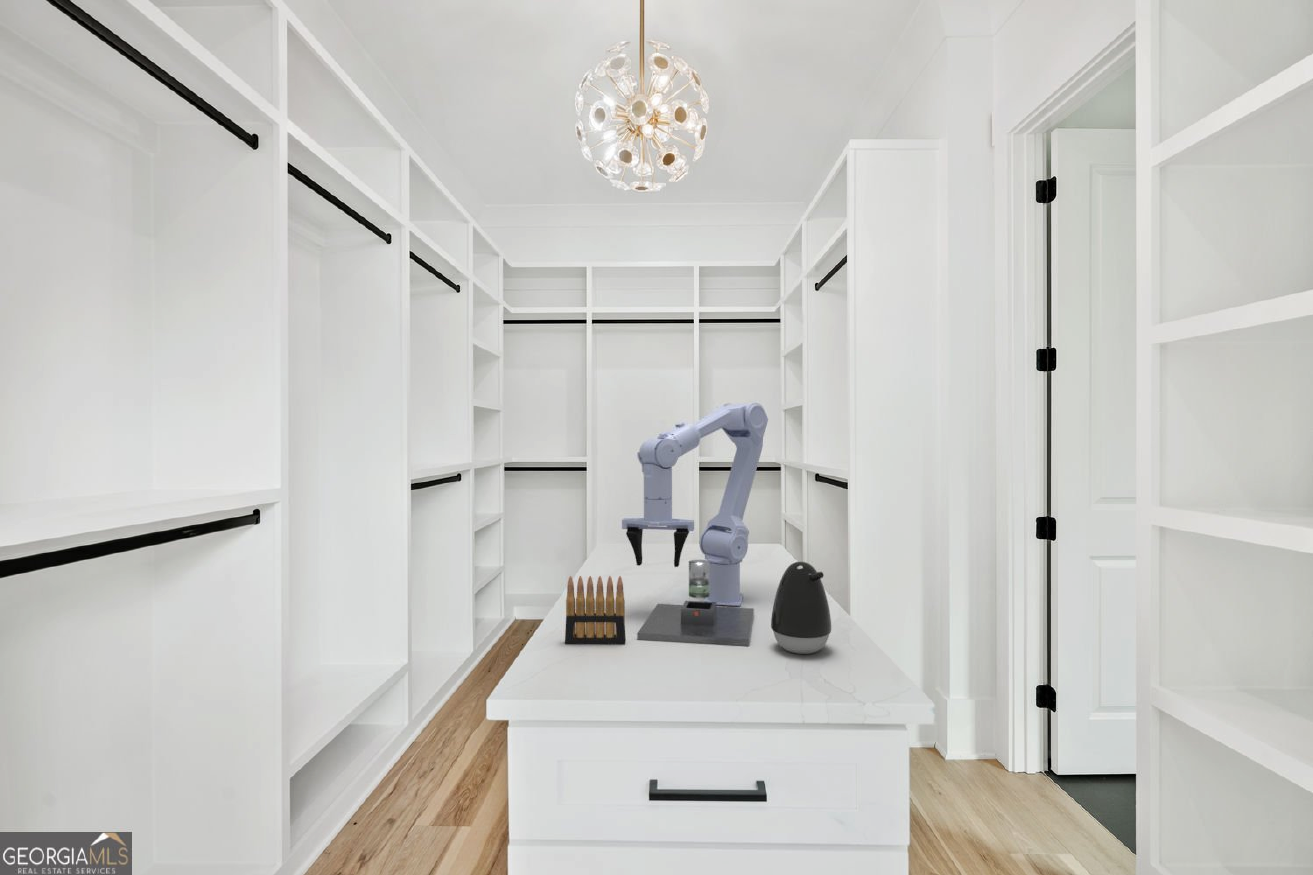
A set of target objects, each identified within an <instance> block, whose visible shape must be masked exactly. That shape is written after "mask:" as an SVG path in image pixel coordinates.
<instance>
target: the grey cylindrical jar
mask: <svg viewBox="0 0 1313 875" xmlns="http://www.w3.org/2000/svg"><path fill="white" fill-rule="evenodd" d="M688 596H689V597H690V598H694V599H705V598H706V597H709V596H710V562H709V561H707V560H706V559H691V560H689V561H688Z"/></svg>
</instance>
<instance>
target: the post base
mask: <svg viewBox="0 0 1313 875" xmlns="http://www.w3.org/2000/svg"><path fill="white" fill-rule="evenodd" d="M754 615H755V608H754V607H753V608H751V607H750V608H749V607H735V606H734V607H733V606H732V607H728V606H718V605H717V602H705V601H704V600H703V601H702V600H685V601H684V602H683V604H670V603H657V604H656V605H655V607H654V608H653V610H652V611H651V613H650V614H649V616H648V617H647V618H646V620H645V621H644V623H643V624H642V626H641V627H640V628H639V630H638V632H637V634H636V635H637V640H639V641H640V640H641V641H654V642H655V641H656V642H658V641H659V642H673V643H674V642H676V643H691V644H706V645H707V644H709V645H723V646H740V647H750V642H751V641H750V640H751V635H752V634H751V633H752V629H753V623H754Z"/></svg>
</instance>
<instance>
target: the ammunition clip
mask: <svg viewBox="0 0 1313 875" xmlns="http://www.w3.org/2000/svg"><path fill="white" fill-rule="evenodd" d="M566 588H567V589H566V590H567V591H566V600H565V630H564V631H565V633H564V635H565V637H564V644H565V645H583V646H585V645H587V646H589V645H593V646H594V645H598V646H599V645H601V646H602V645H605V646H606V645H607V646H608V645H611V646H612V645H619V646H620V645H621V646H623V645H626V641H627V640H626V618H625V617H626V613H625V612H626V611H625V610H626V609H625V606H626V604H625V601H626V600H625V596H624V582H623V578H622V576H621V575H619V576H618V579H617V582H616V593H614V583H613V579H612V576H611V575H609V576H608V579H607V582H606V593H605V594H606V595H604V583H603V579H602V577H601V575H599V576H598V578H597V582H596V596H595V593H594V592H595V591H594V582H593V577H592V576H591V575H589V577H588V579H587V584H586V598H585V592H584V591H585V586H584V581H583V577H582V575H579V577H578V580H577V587H576V589H577V590H576V597H575V584H574V580H573V577H572V576H571V575H570V576H569V578H568V581H567V587H566ZM614 594H616V595H614ZM604 596H606V597H604ZM615 596H616V597H615Z"/></svg>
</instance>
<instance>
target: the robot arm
mask: <svg viewBox="0 0 1313 875" xmlns="http://www.w3.org/2000/svg"><path fill="white" fill-rule="evenodd" d="M768 422H769V418H768V416H767V413H766V410H765V408H764V406H763V405H762V404H760V403H759V402H751V403H724V404H723V405H720V406H718V407H716V408H715V410H713V411H711V412H710V413H708V414H707V415H706V416H704V417H702V418H700V419H699V420H697V421H696V422H694V423H692V424H691V423H689V422H683V421H682V422H681V421H680V422H677V423H676V424H675V425H674V426H675V427H674V428H671V429H670V430H668V431H665V432H663V431H662V432H660V433H659V434H658V437H656V438H648V439H645V440H644V441H643V443H642V444H641V445H640V447H639V451H637V456H636V457H637V459H638V462H639V464H641V472H642V473H643V517H641V518H640V517H638V518H637V517H636V518H633V517H632V518H631V517H630V518H623V519H621V529H622V530H626V533H625V535H626V537H627V539H628V541H629V543H630V545H631V548H632V550H633V554H634V557H635V561H636V566H641V565H642V564H643V549H642V548H643V547H642V546H643V534H644V532H643V531H644V530H665V531H666V530H667V531H668V530H669V531H674V532H673V538H674V539H673V540H674V541H673V542H674V559H673V565H674V568H679V566H680V560H681V555H682V551H683V549H684V545H685V542H686V541H687V538H688V535H689V534H690V532H693V531H694V530H695V520H694V519H680V518H673V467H674V466H675V465H676V463H677V461H678V460H679V458H680V457H682V456H683V455H685V454H687V453H689V452H692V451H693V450H694V449H696V448H697V447H698V446H699V445H700V442H701V439H702V438H704V437H705V438H706V436H708V435H711V434H713V433H716V432H717V431H719V430H722V431H723V432H724V433H725V434H726V436H727V437H728V439H729V440H730V441H731V442H732V443H734V445H735V448H736V450H735V455H734V457H733V460H732V465H731V468H730V471H729V474H728V479H727V482H726V486H725V489H724V492H723V496H722V500H721V503H720V507H719V510H718V513H717V514H716V515H715V516H713V517H712V518H711V519H709V520H708V521H707V525H706V527H705V529H704V531H703V532H702V533H701V535H700V538H699V542H698V543H699V549H700V551H701V553H702V554H703V555H704V560H707V561H709V562H710V596H709V597H706V598H704V600H703V601H705V602H717V606H732V607H733V606H734V607H735V606H737V607H741V605H742V601H743V597H744V593H742V592H741V563H742V562H743V560H744V558H746V555H747V553H748V548H749V543H748V541H749V540H748V538H749V534H750V530H749V529H748V528H747V526H746V524H745V523H744V522H743V519H744V515H745V513H746V512H745V511H746V509H747V504H748V502H749V498H750V494H751V491H752V486H753V484H754V479H755V476H756V472H757V468H758V464H759V461H760V459H761V458H760V457H761V454H762V451H763V447H764V446H763V445H764V444H763V443H764V437H765V436H764V435H765V432H766V428H767V425H768Z"/></svg>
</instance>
